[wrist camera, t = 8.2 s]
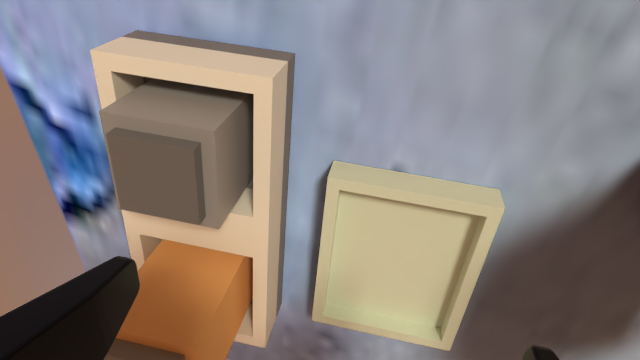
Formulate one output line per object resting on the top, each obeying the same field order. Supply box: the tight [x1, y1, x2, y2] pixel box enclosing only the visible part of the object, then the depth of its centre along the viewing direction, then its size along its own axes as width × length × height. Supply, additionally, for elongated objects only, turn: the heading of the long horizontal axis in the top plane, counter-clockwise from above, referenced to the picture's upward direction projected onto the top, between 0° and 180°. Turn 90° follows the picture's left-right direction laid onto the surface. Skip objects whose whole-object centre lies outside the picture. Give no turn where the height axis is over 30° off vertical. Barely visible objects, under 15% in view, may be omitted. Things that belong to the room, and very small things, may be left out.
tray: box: [312, 161, 505, 351], centre depth 23 cm, size 8×10×2 cm
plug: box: [104, 239, 253, 360], centre depth 22 cm, size 4×4×8 cm
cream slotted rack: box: [90, 30, 295, 348], centre depth 21 cm, size 8×16×6 cm, turn 175°
